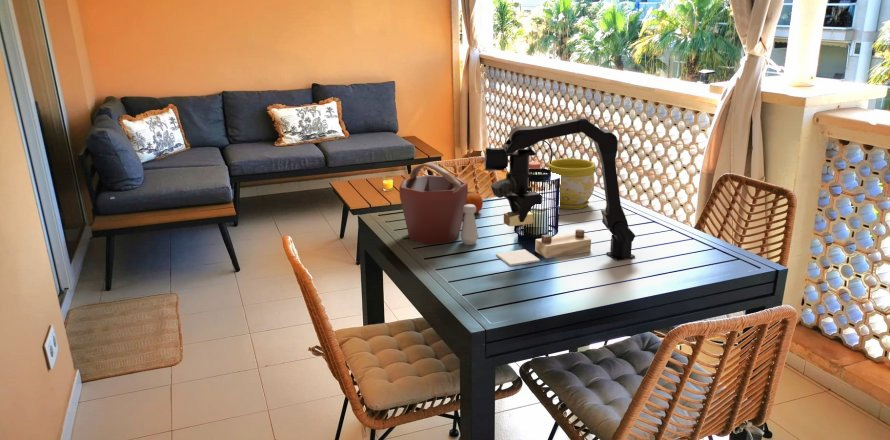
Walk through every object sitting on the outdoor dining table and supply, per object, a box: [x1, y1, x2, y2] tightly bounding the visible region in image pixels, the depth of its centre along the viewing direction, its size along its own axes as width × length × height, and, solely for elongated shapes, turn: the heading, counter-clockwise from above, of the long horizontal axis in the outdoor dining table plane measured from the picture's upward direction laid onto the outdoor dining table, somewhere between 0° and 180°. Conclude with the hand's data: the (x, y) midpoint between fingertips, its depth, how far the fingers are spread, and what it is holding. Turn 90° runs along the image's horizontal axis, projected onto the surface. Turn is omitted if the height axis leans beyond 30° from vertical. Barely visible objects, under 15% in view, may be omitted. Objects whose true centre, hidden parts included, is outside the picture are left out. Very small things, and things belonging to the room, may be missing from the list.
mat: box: [495, 248, 541, 267], centre depth 215 cm, size 10×10×1 cm
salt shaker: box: [460, 204, 479, 246], centre depth 227 cm, size 6×6×13 cm
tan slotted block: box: [503, 211, 534, 228], centre depth 211 cm, size 4×8×4 cm, turn 111°
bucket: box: [398, 162, 469, 246], centre depth 232 cm, size 24×22×25 cm
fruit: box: [463, 190, 484, 215], centre depth 260 cm, size 11×10×8 cm
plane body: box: [534, 228, 592, 259], centre depth 219 cm, size 7×16×6 cm, turn 111°
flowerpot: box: [547, 158, 597, 210], centre depth 267 cm, size 18×18×16 cm
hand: (518, 219), depth 211 cm, fingers closed on tan slotted block, 4 cm apart
